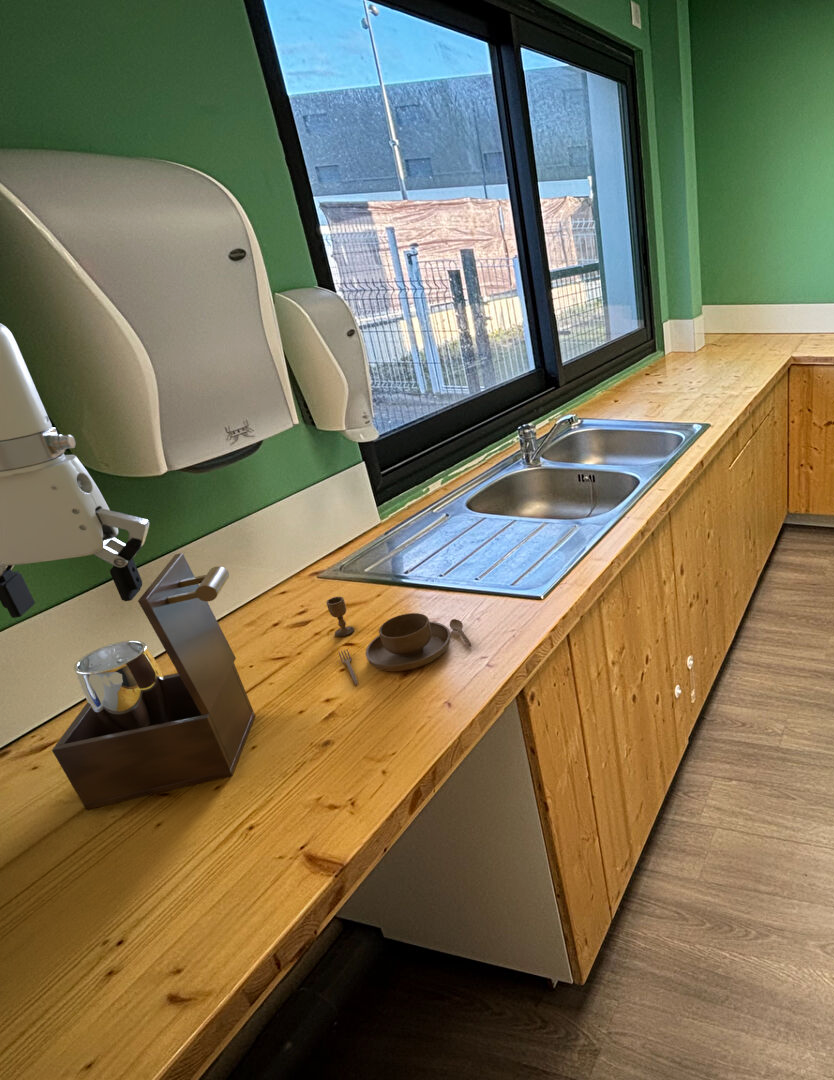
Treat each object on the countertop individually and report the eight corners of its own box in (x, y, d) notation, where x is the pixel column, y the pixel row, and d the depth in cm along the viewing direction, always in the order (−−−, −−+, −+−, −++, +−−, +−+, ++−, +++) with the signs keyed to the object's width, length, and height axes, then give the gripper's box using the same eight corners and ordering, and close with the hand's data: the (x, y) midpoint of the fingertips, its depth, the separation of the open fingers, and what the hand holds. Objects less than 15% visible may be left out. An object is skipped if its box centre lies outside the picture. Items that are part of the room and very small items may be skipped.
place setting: (355, 694, 97) (344, 659, 94) (329, 632, 112) (319, 601, 109) (479, 649, 106) (472, 616, 103) (440, 597, 121) (433, 567, 118)
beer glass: (123, 756, 86) (71, 654, 79) (191, 730, 90) (146, 632, 83) (126, 787, 81) (70, 682, 75) (197, 759, 85) (150, 657, 79)
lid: (137, 600, 72) (198, 587, 74) (175, 554, 82) (228, 543, 84) (201, 715, 79) (256, 701, 81) (229, 659, 89) (277, 648, 91)
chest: (85, 810, 79) (51, 750, 75) (126, 743, 89) (97, 688, 85) (232, 775, 83) (206, 717, 80) (255, 716, 93) (233, 661, 90)
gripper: (129, 432, 74) (183, 575, 82) (-79, 451, 69) (-1, 601, 76) (99, 452, 68) (161, 605, 75) (-133, 474, 63) (-43, 636, 70)
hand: (79, 603), depth 76 cm, fingers open, 9 cm apart
